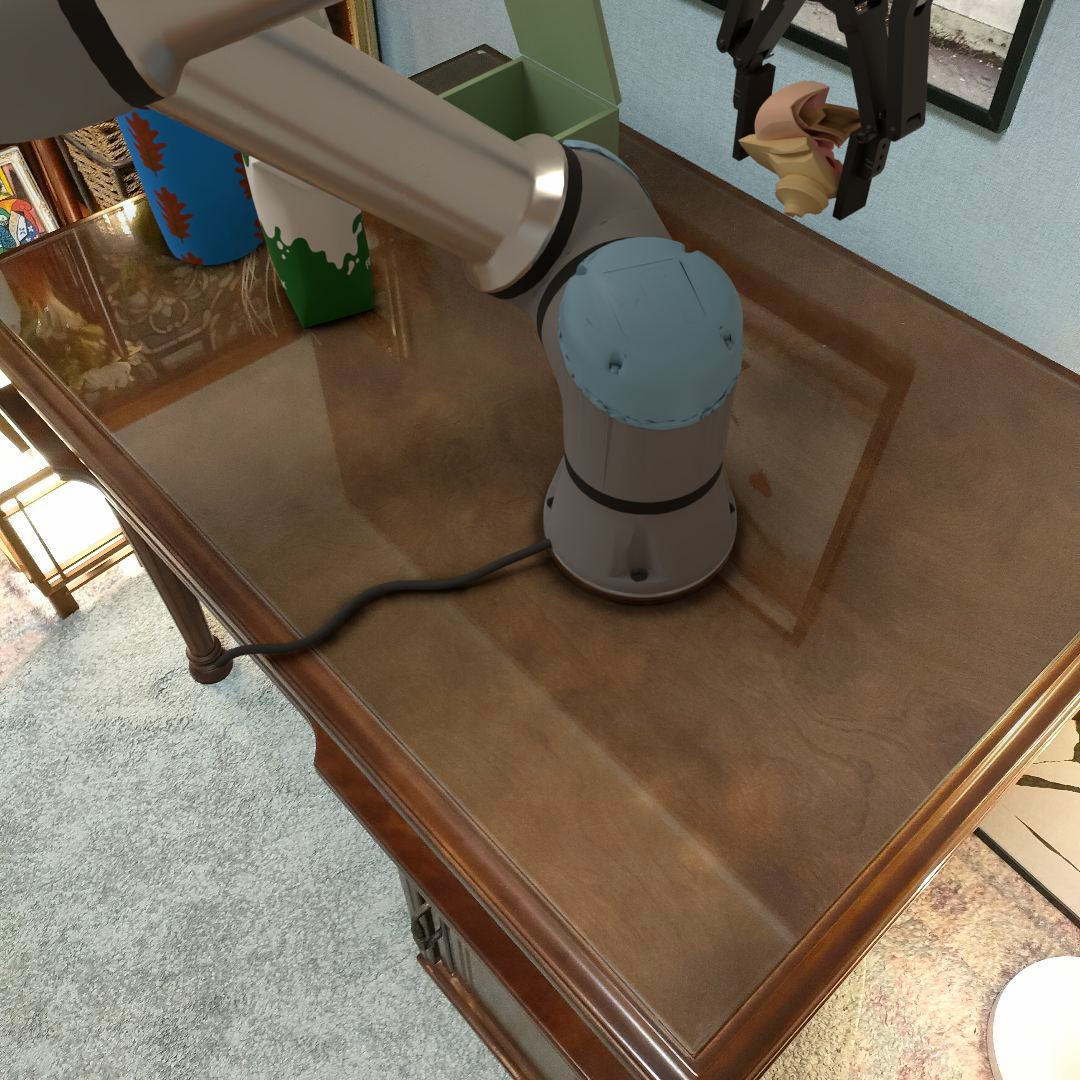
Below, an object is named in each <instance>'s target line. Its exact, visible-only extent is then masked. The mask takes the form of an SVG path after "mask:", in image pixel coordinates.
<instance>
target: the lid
mask: <svg viewBox="0 0 1080 1080" xmlns="http://www.w3.org/2000/svg"><path fill="white" fill-rule="evenodd" d="M503 3H504V6H505V9H506V12H507V16H508V19H509V22H510V25H511V28H512V31H513V34H514V38H515V41H516V44H517V48H518V51H519V53H520V54H521V55H522V56H525V57H527V58H529V59H530V60H532V61H534V62H536V63H538V64H539V65H541V66H543V67H545V68H547V69H549V70H550V71H552V72H554V73H556V74H558V75H559V76H561V77H563V78H565V79H567V80H568V81H570V82H572V83H574V84H576V85H578V86H579V87H581V88H583V89H585V90H587V91H588V92H590V93H592V94H594V95H596V96H598V97H599V98H601V99H603V100H605V101H607V102H608V103H610V104H612V105H614V106H616V107H618V106H619V105H620V104H621V103H622V102H623V99H622V94H621V89H620V85H619V81H618V76H617V72H616V67H615V62H614V58H613V53H612V50H611V44H610V39H609V34H608V30H607V25H606V21H605V17H604V12H603V8H602V7H603V6H602V3H601V0H503Z"/></svg>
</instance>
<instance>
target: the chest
mask: <svg viewBox="0 0 1080 1080" xmlns="http://www.w3.org/2000/svg"><path fill="white" fill-rule="evenodd" d="M436 95H437V96H438V97H440V98H442V99H443V100H445V101H447V102H449V103H450V104H452V105H454V106H455V107H457V108H459V109H460V110H462V111H464V112H465V113H467V114H469V115H471V116H472V117H474V118H476V119H477V120H479V121H481V122H482V123H484V124H486V125H487V126H489V127H491V128H493V129H494V130H496V131H498V132H499V133H501V134H503V135H504V136H506V137H508V138H509V139H511V140H513V141H517V140H519V139H521V138H523V137H526V136H528V135H531V134H537V133H539V134H545V135H548V136H550V137H553V138H554V139H556V140H558V141H559V142H561V143H563V141H564V140H580V141H585V142H589V143H593V144H596V145H598V146H601V147H603V148H605V149H607V150H608V151H610V152H611V153H613V154H614V155H616V156H617V157H618V158H619V137H620V136H619V135H620V133H619V132H620V108H619V107H618V106H616V105H614V104H612V103H610V102H608V101H607V100H605V99H603V98H601V97H599V96H597V95H596V94H594V93H592V92H590V91H588V90H587V89H585V88H583V87H581V86H579V85H577V84H576V83H574V82H572V81H570V80H568V79H567V78H565V77H563V76H561V75H559V74H557V73H556V72H554V71H552V70H550V69H548V68H547V67H545V66H543V65H541V64H539V63H537V62H536V61H534V60H532V59H530V58H528V57H527V56H525V55H521V56H518V57H515V58H514V59H512V60H509V61H508V62H506V63H503V64H501V65H499V66H497V67H495V68H493V69H490V70H489V71H486V72H484V73H483V74H480V75H478V76H476V77H474V78H471V79H469V80H468V81H465V82H463V83H461V84H459V85H456V86H454V87H453V88H451V89H448V90H446V91H444V92H441V93H440V94H436Z"/></svg>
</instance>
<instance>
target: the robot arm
mask: <svg viewBox="0 0 1080 1080" xmlns="http://www.w3.org/2000/svg"><path fill="white" fill-rule="evenodd" d="M343 1H344V0H0V145H8V144H9V145H10V144H20V143H28V142H36V141H42V140H46V139H51V138H55V137H59V136H63V135H67V134H71V133H73V132H74V133H75V132H76V131H80V130H83V129H86V128H89V127H91V126H95V125H98V124H101V123H105V122H107V121H110V120H113V119H116V117H119V116H122V115H124V114H127V113H129V112H132V111H134V110H137V109H140V108H142V107H144V106H146V107H148V108H150V109H153V110H155V111H157V112H159V113H161V114H163V115H165V116H167V117H169V118H171V119H173V120H176V121H178V122H180V123H182V124H184V125H186V126H188V127H190V128H192V129H194V130H196V131H198V132H201V133H203V134H205V135H207V136H209V137H211V138H213V139H215V140H217V141H219V142H221V143H224V144H226V145H228V146H230V147H232V148H234V149H236V150H238V151H240V152H242V153H244V154H246V155H249V156H251V157H253V158H255V159H257V160H259V161H261V162H263V163H265V164H267V165H269V166H272V167H274V168H276V169H278V170H280V171H282V172H284V173H286V174H288V175H290V176H292V177H294V178H297V179H299V180H301V181H303V182H305V183H307V184H309V185H311V186H313V187H315V188H317V189H320V190H322V191H324V192H326V193H328V194H330V195H332V196H334V197H336V198H338V199H340V200H342V201H345V202H347V203H349V204H351V205H353V206H355V207H357V208H359V209H361V211H364V212H366V213H368V214H370V215H372V216H374V217H376V218H379V219H380V220H382V221H385V222H386V223H388V224H391V225H393V226H395V227H397V228H399V229H401V230H403V231H405V232H408V233H409V234H411V235H413V236H416V237H418V238H420V239H422V240H424V241H426V242H428V243H430V244H431V245H432V244H433V246H434V245H435V246H436V247H439V248H441V249H442V250H444V251H447V252H449V253H450V254H454V255H455V256H457V257H459V258H460V262H461V267H462V269H463V270H462V271H463V273H464V276H465V278H466V280H467V282H468V283H469V284H470V285H471V286H472V287H473V288H475V289H476V290H477V291H479V292H483V293H485V294H487V295H489V296H492V297H493V298H494V299H497V300H499V301H502V302H504V303H506V304H508V305H510V306H511V307H514V308H517V309H518V310H521V311H522V312H524V313H525V314H527V316H528V317H530V319H531V320H532V323H533V325H534V327H535V330H536V333H537V335H538V338H539V341H540V343H541V345H542V348H543V350H544V353H545V355H546V358H547V360H548V363H549V365H550V368H551V370H552V372H553V376H554V377H555V380H556V383H557V385H558V388H559V393H560V396H561V403H562V417H563V418H562V422H563V423H562V424H563V456H562V458H561V460H560V461H559V464H558V467H557V468H556V470H555V473H554V475H553V477H552V479H551V482H550V484H549V486H548V489H547V491H546V494H545V498H544V503H543V510H542V528H543V529H542V531H543V537H544V539H543V540H542V541H539V542H537V543H534V544H531V545H530V546H527V547H525V548H522V549H520V550H517V551H515V552H512V553H509V554H507V555H505V556H503V557H500V558H498V559H496V560H494V561H491V562H489V563H488V564H485V565H484V566H481V567H479V568H478V569H475V570H473V571H471V572H467V573H465V574H462V575H458V576H456V577H455V576H454V577H450V578H445V579H436V580H435V579H434V580H433V579H432V580H420V579H419V580H411V579H408V580H394V581H388V582H384V583H381V584H378V585H374V586H372V587H370V588H368V589H365V590H364V591H362V592H360V593H358V594H356V596H354V597H353V598H352V599H350V600H349V601H348V602H347V603H346V604H345V605H344V606H343V607H342V608H340V610H339V611H337V613H335V614H334V615H333V617H332V618H330V619H329V620H328V621H327V622H326V623H325V624H324V625H323V626H322V627H320V628H319V629H317V630H316V631H313V633H310V634H309V635H306V636H305V637H303V638H300V639H297V640H294V641H288V642H283V643H281V642H280V643H252V644H243V645H238V646H236V647H233V648H230V649H229V650H227V651H225V652H224V653H223V654H221V655H220V656H219V657H218V658H217V659H216V661H215V662H214V666H215V667H216V668H222V667H225V666H226V665H227V664H228V663H230V662H231V661H232V660H234V659H237V658H240V657H242V656H243V657H244V656H247V655H273V654H275V655H277V654H278V655H279V654H287V653H293V652H297V651H302V650H304V649H306V648H309V647H310V646H313V645H315V644H317V643H319V642H320V641H321V640H323V639H324V638H326V637H327V636H328V635H330V634H331V633H332V632H333V631H334V630H335V629H337V627H338V626H340V624H342V622H344V620H346V618H348V617H349V616H350V614H352V613H353V612H354V611H355V610H356V609H358V607H360V606H362V604H364V603H365V602H367V601H369V600H370V599H373V598H375V597H377V596H381V595H382V594H387V593H391V592H396V591H438V590H447V589H453V588H458V587H461V586H464V585H467V584H470V583H473V582H476V581H477V580H480V579H482V578H484V577H486V576H489V575H490V574H492V573H494V572H496V571H499V570H501V569H503V568H505V567H507V566H510V565H512V564H515V563H517V562H519V561H522V560H524V559H527V558H529V557H532V556H534V555H537V554H539V553H542V552H544V551H546V550H547V551H548V554H549V555H550V558H551V559H552V561H553V562H554V564H555V565H556V567H557V568H558V569H559V570H560V571H561V573H562V574H564V576H565V577H566V578H568V579H569V580H570V581H571V582H573V583H574V584H575V585H577V586H578V587H579V588H581V589H583V590H585V591H587V592H588V593H590V594H592V595H594V596H597V597H599V598H602V599H606V600H609V601H613V602H618V603H623V604H624V603H625V604H630V605H631V604H632V605H653V604H662V603H667V602H671V601H675V600H679V599H681V598H684V597H687V596H689V595H691V594H693V593H695V592H697V591H699V590H700V589H702V588H703V587H706V585H708V584H709V583H710V582H711V581H713V579H715V578H716V577H717V576H718V575H719V573H720V572H721V571H722V570H723V568H724V567H725V566H726V564H727V562H728V561H729V559H730V557H731V554H732V552H733V548H734V544H735V540H736V535H737V528H738V515H737V504H736V499H735V496H734V493H733V490H732V488H731V485H730V481H729V477H728V474H727V472H726V468H725V465H724V459H725V453H726V447H727V441H728V436H729V428H730V423H731V416H732V411H733V404H734V400H735V393H736V387H737V382H738V378H739V376H740V373H741V370H742V362H743V360H744V359H743V358H744V353H743V352H744V348H745V347H744V345H745V339H744V336H743V335H744V334H743V333H744V332H743V331H744V315H743V314H744V313H743V307H742V303H741V299H740V296H739V292H738V291H737V288H736V287H735V284H734V283H733V282H732V281H733V280H731V278H730V276H729V275H728V274H727V272H725V270H724V269H723V268H722V267H721V266H720V265H719V264H718V263H717V262H716V261H715V260H713V259H712V258H711V257H710V256H708V255H707V254H705V253H704V252H702V251H700V250H695V251H693V252H686V246H685V244H684V243H682V242H679V241H677V240H673V238H672V236H671V234H670V233H669V231H668V230H667V228H666V227H665V225H664V223H663V220H662V219H661V217H660V216H659V214H658V213H657V211H656V209H655V207H654V205H653V201H652V200H651V199H652V198H651V196H650V194H649V192H648V190H647V189H646V187H645V186H644V184H642V183H641V181H640V178H639V177H638V175H636V173H635V172H634V171H633V169H631V167H629V166H628V165H627V164H626V163H625V162H624V161H623V160H622V159H621V158H619V156H618V157H617V156H616V155H614V154H613V153H611V152H610V151H608V150H607V149H605V148H603V147H601V146H598V145H596V144H593V143H589V142H585V141H580V140H564V141H563V143H561V142H559V141H558V140H556V139H554V138H553V137H550V136H548V135H545V134H539V133H537V134H531V135H528V136H526V137H523V138H521V139H519V140H517V141H513V140H511V139H509V138H508V137H506V136H504V135H503V134H501V133H499V132H498V131H496V130H494V129H493V128H491V127H489V126H487V125H486V124H484V123H482V122H481V121H479V120H477V119H476V118H474V117H472V116H471V115H469V114H467V113H465V112H464V111H462V110H460V109H459V108H457V107H455V106H454V105H452V104H450V103H449V102H447V101H445V100H443V99H442V98H440V97H438V96H437V95H438V94H435V93H433V92H432V91H430V90H429V89H427V88H425V87H424V86H421V85H420V84H418V83H416V82H414V80H411V79H410V78H408V77H406V76H404V75H403V74H401V73H400V72H398V71H396V70H395V69H393V68H391V67H389V66H388V65H386V64H384V63H383V62H381V61H379V60H378V59H376V58H374V57H372V56H371V55H369V54H367V53H366V52H364V51H362V50H360V49H359V48H357V47H356V46H354V45H352V44H350V43H349V42H347V41H345V40H344V39H342V38H340V37H339V36H337V35H336V34H334V33H333V34H334V35H333V34H332V33H330V32H328V31H327V30H325V29H323V28H322V27H320V26H318V25H317V24H315V23H313V22H311V21H310V20H308V19H306V18H305V17H303V16H305V15H307V14H310V13H312V12H315V11H318V10H320V9H323V8H324V9H325V8H328V7H330V6H334V5H336V4H338V3H340V2H343ZM806 1H808V2H813V3H820V4H821V5H822V6H823V7H824V8H825V9H826V10H828V11H830V12H832V13H834V15H835V20H836V26H837V29H838V31H839V32H840V33H842V34H843V35H844V39H845V43H846V49H847V54H848V55H847V56H848V60H849V67H850V72H851V77H852V83H853V88H854V94H855V101H856V105H857V110H858V112H859V117H860V123H861V127H860V128H858V129H856V130H855V131H853V132H851V133H850V136H849V138H848V141H847V146H846V150H845V155H844V160H843V163H844V164H843V163H842V165H843V168H842V173H841V178H840V182H839V187H838V192H837V196H836V198H835V202H834V204H833V205H834V206H833V210H832V215H831V216H832V218H834V219H836V220H837V221H840V222H841V221H842V220H844V219H846V218H847V217H849V216H851V215H853V214H854V213H856V212H858V211H859V210H861V209H863V208H865V207H866V205H867V201H868V198H869V193H870V190H871V186H872V180H873V179H874V178H876V177H878V176H879V175H881V174H882V172H883V171H884V169H885V168H886V164H887V160H888V155H889V151H890V147H891V143H892V142H898V141H900V140H901V139H904V138H905V137H907V136H908V135H910V134H912V133H914V132H916V131H918V130H919V129H921V128H923V126H924V125H926V124H925V123H926V113H927V95H928V74H929V73H928V72H929V58H930V57H929V55H930V36H931V17H932V6H933V3H934V0H768V1H767V2H766V5H765V6H764V2H765V0H728V1H727V4H726V8H725V11H724V15H723V18H722V19H721V23H720V24H721V25H720V26H719V30H718V34H717V36H716V41H715V45H716V48H717V51H718V52H719V53H721V54H726V53H727V54H728V55H729V56H730V57H731V58H732V64H733V67H734V69H735V78H734V88H733V95H732V106H733V109H735V110H736V111H737V114H736V122H735V128H734V129H735V130H734V138H733V147H732V155H731V157H732V159H734V160H735V161H738V162H740V161H743V160H744V159H747V158H748V157H750V155H749V154H748V153H747V152H746V151H745V150H744V148H743V147H742V146H741V144H740V143H739V141H738V140H740V139H742V138H744V137H746V136H748V135H752V134H755V119H756V116H757V113H758V111H759V109H760V108H761V106H762V105H763V103H764V102H765V101H766V100H767V99H768V98H769V97H770V96H771V95H773V90H774V83H775V77H776V69H777V66H776V65H774V64H772V63H770V62H766V63H764V61H766V60H767V59H770V58H772V57H773V56H775V52H773V51H774V49H775V47H776V46H777V45H778V43H779V41H780V40H781V39H782V38H783V35H784V34H785V32H786V31H787V30H788V28H789V26H790V25H791V24H792V22H793V20H794V19H795V17H796V16H797V14H798V13H799V12H800V10H801V9H802V7H803V6H804V4H805V3H806ZM864 3H866V5H865V7H864V8H862V9H861V10H858V11H857V7H859V6H861V5H864ZM889 4H891V6H890V5H889ZM763 6H764V7H763ZM889 6H890V10H889ZM762 8H763V9H762ZM887 15H888V27H887V23H886V17H887ZM887 28H888V29H887Z"/></svg>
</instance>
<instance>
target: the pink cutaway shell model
mask: <svg viewBox="0 0 1080 1080" xmlns="http://www.w3.org/2000/svg"><path fill="white" fill-rule="evenodd" d="M830 88H831V87H830V86H829V85H827V84H825V83H823V82H819V81H816V80H801V81H797V82H794V83H793V82H792V83H791V84H789V85H786V86H783V87H782V88H780V89H778V90H777V91H775V92H773V93H772V95H771V96H770V97H769V98H768V99H767V100H766V101H765V102H764V103H763V105H762V106H761V108H760V109H759V111H758V113H757V116H756V119H755V134H752V135H748V136H746V137H744V138H742V139H740V140H738V141H739V143H740V144H741V146H742V147H743V148H744V150H745V151H746V152H747V153H748V154H749V155H750V156H749V157H750V158H751V159H752V160H753V161H755V163H757V164H758V165H759V166H761V167H763V168H765V169H766V170H768V171H769V172H771V173H773V174H775V175H777V177H778V179H779V180H778V181H776V183H775V193H774V195H775V198H776V200H778V201H779V202H780V203H781V204H782V205H783V206H784V209H783V210H784V211H783V214H784V215H785V216H787V217H790V218H795V216H796V217H798V218H800V219H802V218H803V217H804V216H805V215H807V214H809V215H810V214H811V215H815V216H816V215H820V214H821V213H823V210H825V209H826V208H828V207H829V205H830V203H829V201H830V200H832V199H833V200H834V199H836V196H837V192H838V187H839V182H840V178H841V173H842V168H843V164H844V162H843V163H842V162H841V160H840V159H836V158H835V153H834V151H833V150H834V149H835V147H837V149H840V148H841V147H842V146H843V144H844V143H845V142H847V140H849V136H850V133H851V132H853V131H855V130H856V129H858V128H860V127H861V123H860V117H859V112H858V108H855V107H850V106H845V105H840V104H833V103H827V99H828V94H829V91H830Z"/></svg>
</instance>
